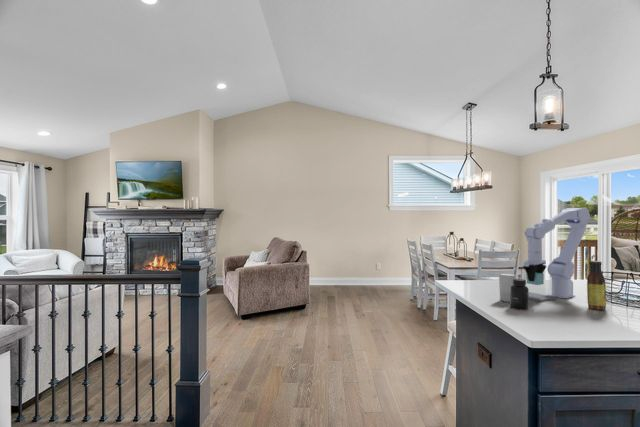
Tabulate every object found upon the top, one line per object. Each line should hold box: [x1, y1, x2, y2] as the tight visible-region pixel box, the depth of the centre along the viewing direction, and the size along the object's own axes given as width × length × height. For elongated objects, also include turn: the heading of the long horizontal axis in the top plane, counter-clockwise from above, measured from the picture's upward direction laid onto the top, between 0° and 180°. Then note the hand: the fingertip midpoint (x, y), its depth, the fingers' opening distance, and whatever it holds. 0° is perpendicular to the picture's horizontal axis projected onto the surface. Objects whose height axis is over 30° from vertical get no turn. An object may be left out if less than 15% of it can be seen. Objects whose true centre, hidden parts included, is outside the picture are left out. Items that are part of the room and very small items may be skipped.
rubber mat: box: [528, 291, 556, 303], centre depth 173 cm, size 12×12×1 cm
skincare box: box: [498, 273, 517, 302], centre depth 168 cm, size 6×4×12 cm
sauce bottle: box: [586, 260, 607, 311], centre depth 154 cm, size 6×6×20 cm
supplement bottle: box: [509, 278, 530, 311], centre depth 156 cm, size 7×7×12 cm
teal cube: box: [526, 272, 545, 286], centre depth 173 cm, size 5×5×5 cm
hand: (534, 280), depth 173 cm, fingers closed on teal cube, 5 cm apart
